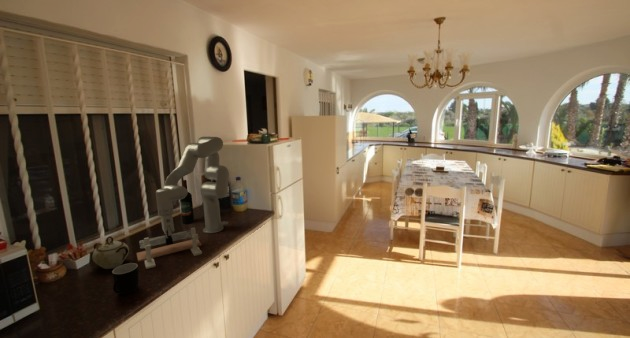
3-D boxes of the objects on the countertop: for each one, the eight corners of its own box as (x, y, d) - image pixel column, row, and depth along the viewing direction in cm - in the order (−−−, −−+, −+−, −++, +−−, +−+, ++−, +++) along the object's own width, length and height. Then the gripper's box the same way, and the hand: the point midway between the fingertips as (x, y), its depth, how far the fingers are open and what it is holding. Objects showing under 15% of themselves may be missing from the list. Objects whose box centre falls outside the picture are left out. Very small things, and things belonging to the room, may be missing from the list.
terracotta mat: (197, 239, 173) (197, 238, 172) (201, 245, 164) (201, 244, 164) (136, 254, 155) (136, 253, 155) (138, 261, 147) (138, 260, 147)
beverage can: (202, 217, 211) (201, 202, 209) (204, 214, 217) (202, 199, 215) (212, 217, 212) (211, 201, 210) (214, 214, 219) (212, 198, 217)
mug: (124, 284, 127) (121, 263, 125) (145, 284, 127) (142, 262, 125) (105, 301, 115) (101, 278, 113) (127, 301, 115) (124, 278, 113)
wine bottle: (196, 221, 204) (192, 179, 199) (187, 224, 197) (183, 181, 192) (188, 219, 207) (184, 178, 202) (179, 223, 200) (175, 181, 195)
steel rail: (193, 234, 168) (193, 229, 167) (195, 236, 165) (194, 230, 164) (139, 246, 152) (139, 240, 152) (140, 248, 150) (139, 242, 149)
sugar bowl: (141, 259, 149) (138, 231, 147) (116, 274, 135) (112, 244, 132) (110, 256, 153) (106, 229, 151) (82, 270, 139) (77, 241, 136)
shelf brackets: (198, 248, 161) (196, 226, 158) (202, 253, 154) (200, 230, 152) (144, 262, 146) (141, 238, 144) (146, 269, 139) (143, 243, 137)
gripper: (176, 213, 151) (179, 246, 154) (170, 206, 165) (173, 237, 168) (160, 216, 147) (163, 250, 150) (155, 209, 160) (159, 240, 163)
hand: (169, 243), depth 159 cm, fingers closed on steel rail, 3 cm apart
